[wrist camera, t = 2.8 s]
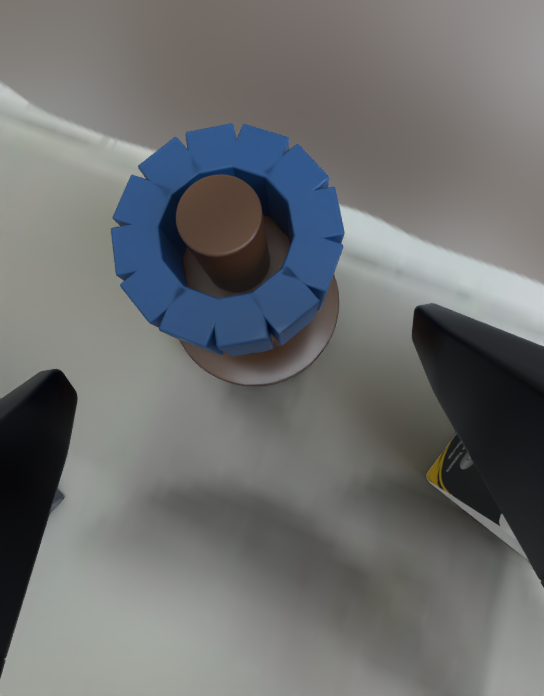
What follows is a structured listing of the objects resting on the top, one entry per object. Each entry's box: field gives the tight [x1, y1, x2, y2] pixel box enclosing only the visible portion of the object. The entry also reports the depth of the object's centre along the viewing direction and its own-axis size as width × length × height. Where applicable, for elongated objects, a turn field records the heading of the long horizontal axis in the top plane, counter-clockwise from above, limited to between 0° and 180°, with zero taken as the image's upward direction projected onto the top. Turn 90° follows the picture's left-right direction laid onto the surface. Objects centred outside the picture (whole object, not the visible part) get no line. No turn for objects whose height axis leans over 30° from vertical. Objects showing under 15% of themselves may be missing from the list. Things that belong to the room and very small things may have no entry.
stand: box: [176, 175, 339, 386], centre depth 15 cm, size 9×9×10 cm
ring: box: [111, 124, 344, 356], centre depth 12 cm, size 7×7×2 cm
